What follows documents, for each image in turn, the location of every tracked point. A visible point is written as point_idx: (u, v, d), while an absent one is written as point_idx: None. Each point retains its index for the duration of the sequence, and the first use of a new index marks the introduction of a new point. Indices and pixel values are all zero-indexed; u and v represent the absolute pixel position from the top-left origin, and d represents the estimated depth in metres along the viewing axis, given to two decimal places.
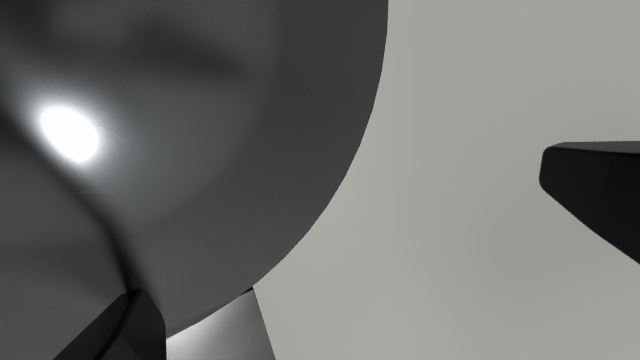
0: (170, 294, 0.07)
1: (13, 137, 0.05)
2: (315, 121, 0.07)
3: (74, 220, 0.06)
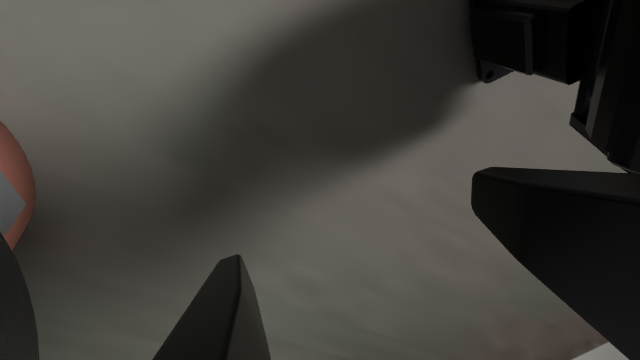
0: None
1: None
2: None
3: None
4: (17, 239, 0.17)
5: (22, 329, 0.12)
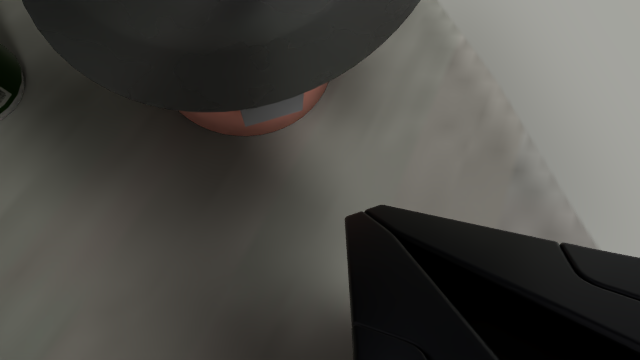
0: None
1: None
2: None
3: None
4: (195, 114, 0.21)
5: (183, 100, 0.14)
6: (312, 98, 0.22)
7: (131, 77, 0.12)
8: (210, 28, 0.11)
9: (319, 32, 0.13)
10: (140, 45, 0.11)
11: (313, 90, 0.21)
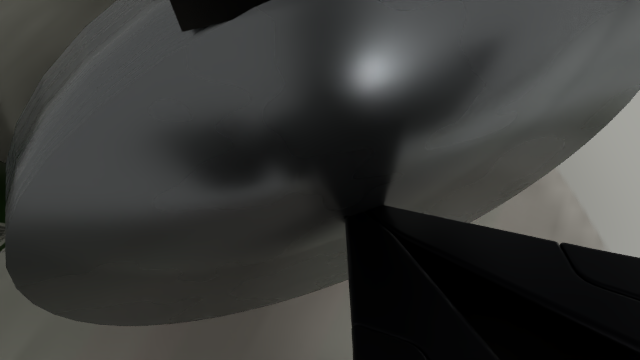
0: (367, 66, 0.04)
1: (385, 196, 0.07)
2: (119, 259, 0.05)
3: (395, 159, 0.06)
4: None
5: (236, 307, 0.11)
6: None
7: (175, 311, 0.09)
8: (285, 256, 0.08)
9: None
10: (192, 289, 0.08)
11: None
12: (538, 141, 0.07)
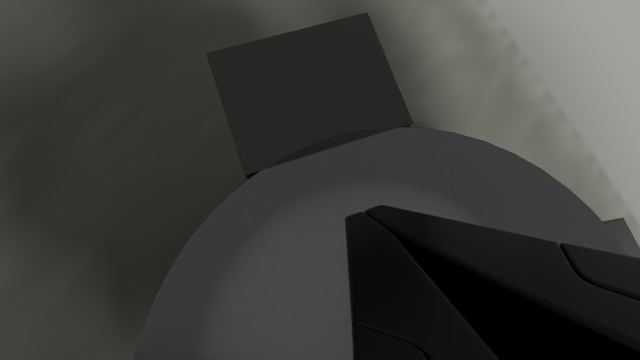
0: (325, 190, 0.08)
1: None
2: None
3: None
4: None
5: None
6: None
7: None
8: None
9: None
10: None
11: None
12: None
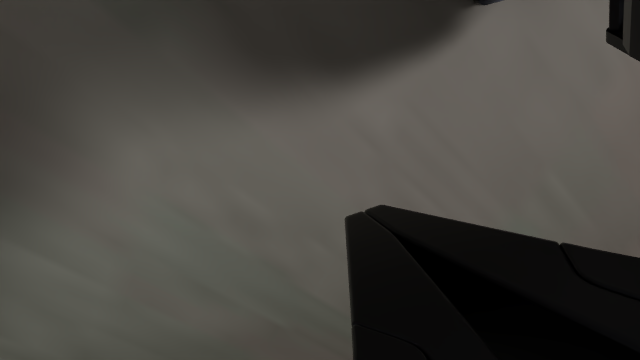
0: None
1: None
2: None
3: None
4: None
5: None
6: None
7: None
8: None
9: None
10: None
11: None
12: None
